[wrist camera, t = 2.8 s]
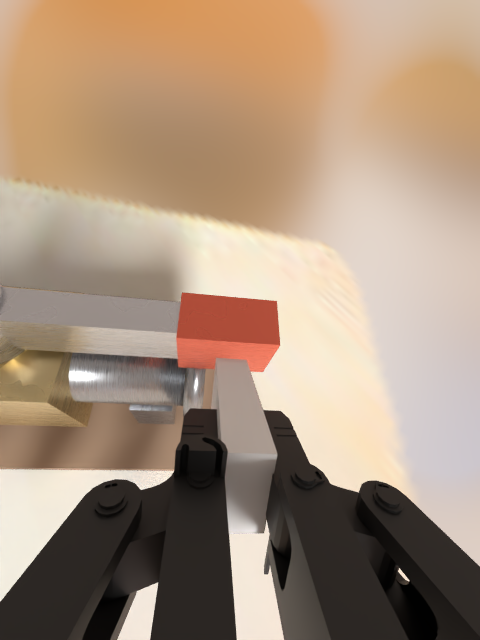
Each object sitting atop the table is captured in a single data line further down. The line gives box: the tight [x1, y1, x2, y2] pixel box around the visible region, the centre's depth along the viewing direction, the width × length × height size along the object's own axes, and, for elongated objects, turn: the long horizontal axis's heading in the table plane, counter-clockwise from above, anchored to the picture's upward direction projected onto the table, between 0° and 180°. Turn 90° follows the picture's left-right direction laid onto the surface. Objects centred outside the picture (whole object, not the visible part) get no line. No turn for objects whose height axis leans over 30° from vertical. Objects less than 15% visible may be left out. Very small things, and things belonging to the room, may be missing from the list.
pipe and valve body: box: [0, 286, 206, 427], centre depth 21 cm, size 23×7×10 cm, turn 89°
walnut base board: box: [0, 369, 215, 471], centre depth 26 cm, size 28×12×2 cm, turn 89°
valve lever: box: [0, 283, 280, 372], centre depth 15 cm, size 17×4×4 cm, turn 89°
